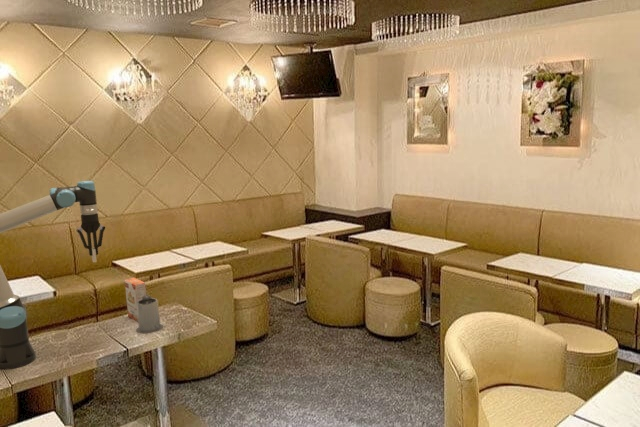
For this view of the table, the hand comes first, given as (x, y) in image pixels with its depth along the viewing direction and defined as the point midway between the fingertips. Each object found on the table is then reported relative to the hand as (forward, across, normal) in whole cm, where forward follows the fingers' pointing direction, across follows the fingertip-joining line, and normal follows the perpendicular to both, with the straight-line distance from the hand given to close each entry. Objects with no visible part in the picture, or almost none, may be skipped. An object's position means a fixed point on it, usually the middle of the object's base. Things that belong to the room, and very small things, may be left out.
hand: (94, 261), depth 255 cm
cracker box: (+37, +20, +9) cm, 43 cm away
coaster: (+36, +20, -11) cm, 43 cm away
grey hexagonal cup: (+36, +20, -11) cm, 42 cm away
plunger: (+31, +20, -11) cm, 38 cm away
